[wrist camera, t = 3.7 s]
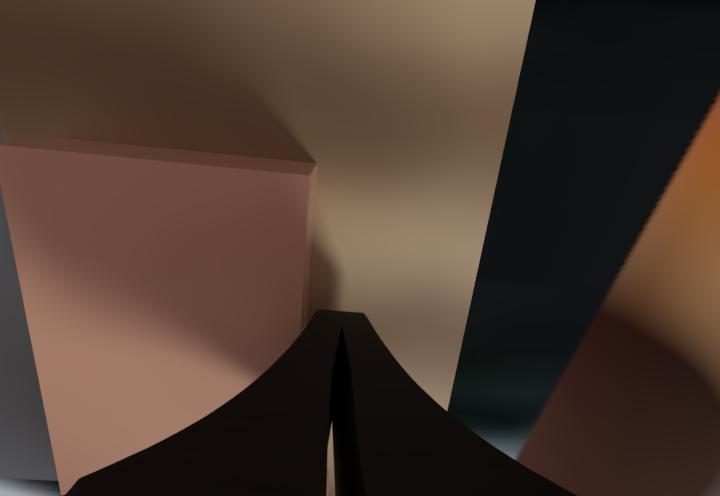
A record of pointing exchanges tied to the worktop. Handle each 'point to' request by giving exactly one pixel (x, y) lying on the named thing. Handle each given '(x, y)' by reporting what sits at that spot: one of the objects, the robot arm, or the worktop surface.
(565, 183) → the worktop surface
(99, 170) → the terracotta tile
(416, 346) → the oak deck
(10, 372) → the rubber mat
